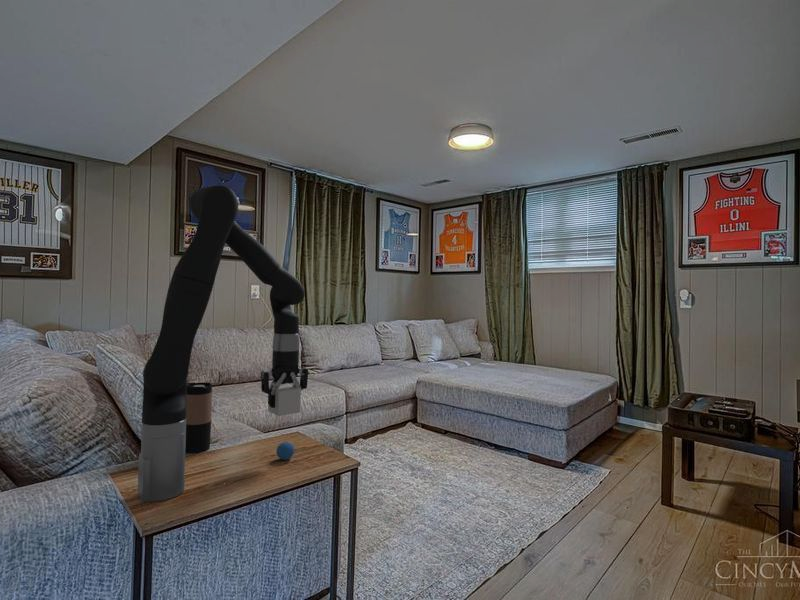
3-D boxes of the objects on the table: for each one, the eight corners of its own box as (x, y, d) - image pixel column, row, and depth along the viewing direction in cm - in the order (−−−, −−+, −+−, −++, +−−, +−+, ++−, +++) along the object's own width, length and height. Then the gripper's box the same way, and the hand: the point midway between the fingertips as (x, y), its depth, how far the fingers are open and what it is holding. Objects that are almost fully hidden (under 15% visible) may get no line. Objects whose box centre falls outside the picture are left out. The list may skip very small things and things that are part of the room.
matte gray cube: (278, 416, 118) (278, 391, 118) (268, 411, 123) (268, 387, 124) (300, 412, 123) (300, 389, 123) (289, 407, 128) (290, 385, 128)
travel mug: (185, 446, 132) (187, 382, 133) (212, 444, 135) (213, 382, 135) (180, 454, 125) (182, 387, 125) (208, 452, 127) (210, 386, 128)
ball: (280, 444, 120) (272, 444, 124) (282, 462, 119) (274, 462, 123) (295, 439, 123) (287, 440, 127) (298, 457, 123) (290, 457, 126)
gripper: (267, 351, 116) (266, 411, 116) (314, 348, 125) (312, 404, 125) (256, 349, 122) (255, 406, 121) (301, 346, 131) (300, 400, 131)
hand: (284, 405), depth 123 cm, fingers closed on matte gray cube, 7 cm apart
